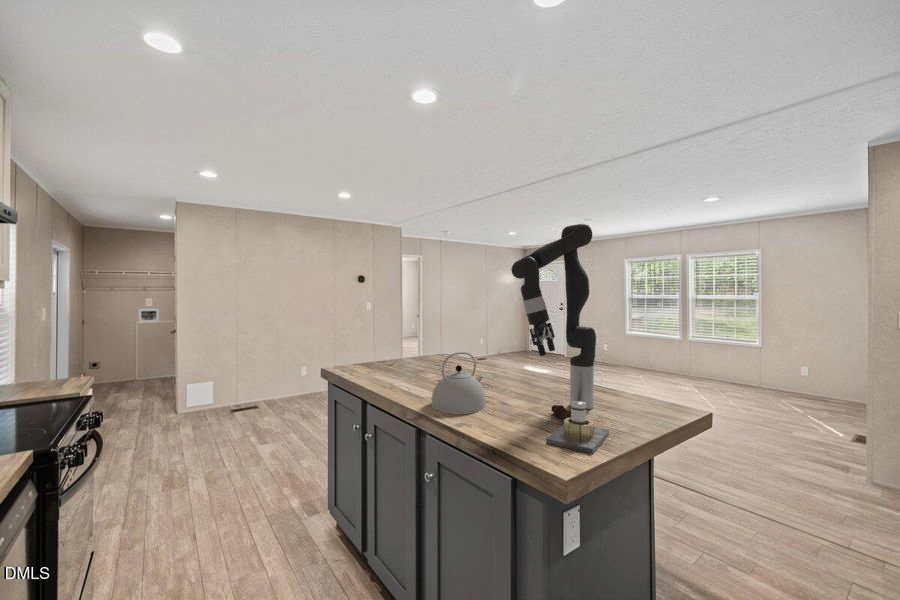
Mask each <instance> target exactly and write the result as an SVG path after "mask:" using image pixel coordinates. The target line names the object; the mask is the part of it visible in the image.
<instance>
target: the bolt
mask: <svg viewBox="0 0 900 600" xmlns="http://www.w3.org/2000/svg"><path fill="white" fill-rule="evenodd" d="M551 412H552V413H553V415H554V416H555V417H556V418H559V419H560V418H561V419H562V420H563V421H564V420H565V419H566V418H571V410H566V408H565V406H564V405H562V404H561V405H557V404H554V405H552V406H551Z"/></svg>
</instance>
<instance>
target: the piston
mask: <svg viewBox="0 0 900 600" xmlns="http://www.w3.org/2000/svg"><path fill="white" fill-rule="evenodd" d="M570 411H571V423H572V424H577V425H586V419H587V409H586V403H585V402H582V401H572V402H571V406H570Z"/></svg>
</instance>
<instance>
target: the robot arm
mask: <svg viewBox="0 0 900 600" xmlns="http://www.w3.org/2000/svg"><path fill="white" fill-rule="evenodd" d="M592 240H593V229H592V228H591V227H590V226H589V225H588V224H586V223H577V224H574V225H573V224H572V225H567V226H565V227H564V228H563V229H562V231H561V236H560V238H559V239H557V240H554V241H551V242H549V243H547V244H545V245H543V246H541V247H539V248H538V249H536V250H534V251H533V252H532V253H530V254H528V255H526V256H525V257H524V256H523V257H522V258H520V259H518V260H516V261H515V262H514V263H513V264H512V266H511V274H512V276H513V277H514V278H516V279H520V280H522V279H524V280H523V281H524V283H523V285H521V287H520V292H521V295H522V301H523V304H524V310H525V314H526V316H527V321H528V324H529V326H533V328H530V329H529V332H530V333H529V334H530V337H531V341H532V345H533V346H536V347H537V350H538V355H539V356H540V357H543V356H544V357H545V356H546V355H547V353H546V349H545V346H544V340H545V341H546V343H547V344H546V345H547V349H548V350H549V352H554V351H555V350H556V347H555V344H554V338H555V332H554V329H553V326H552V323H551V322H549V321H550V317H549V314H548V313H549V312H548V310H547V306H546V302H545V299H544V296H543V294H542V290H541V286H540V269H542V268H545V267H547V266H548V265H550V264H551V263H552V262H554V261H556V260H557V259H559V258H561V257H563V261H564V275H565V294H566V296H565V297H566V327H565V339H566V343H567V345H568V346H569V347H570V348H575V349H580V353H579V354H578V355H576V356H571V357H570V360H569V363H570V364H569V366H570V367H569V373H570V374H569V375H570V377H569V381H570V382H569V406H570V407H571V402H572V401H582V402H585V403H586V410H589V409H593V408H594V386H595V385H594V382H595V381H594V379H595V378H594V377H595V376H594V364H595V363H594V362H595V358H596V346H597V345H596V344H597V334H596V331H595V329H594V328H593V327H591V326H580V315H581V312H582V310H583V308H584V307H585V305H586V303H587V301H588V299H589V297H590V283H589V282H590V281H589V276H588V274H587V272H586V270H585V269H584V267H583V265H582V264H581V263H580V259H579V257H578V249H580V248H582V247H585V246H587V245H589V244H590V243H591V241H592Z"/></svg>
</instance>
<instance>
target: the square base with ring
mask: <svg viewBox="0 0 900 600" xmlns="http://www.w3.org/2000/svg"><path fill="white" fill-rule="evenodd" d="M609 434H610V429H608V428H603V427H597V426H595V423H594V422H593V420H590V419H588V418H586V425H577V424H572V423H571V418H566V419H565V420H563V424H562V425H561V426H560V427H558V428H557V429H556V430H555V431H554V432H552V433H551V434H550V435H549V436H548V437H546V438H545V444H547V445H551V446H555V447H560V448H565V449H569V450H573V451H577V452H581V453H585V452H586V453H587V454H590V453H591V454H590V455H593V454H594V453H595V452H596V451H597V450H598V448H599V447H600V446H601V444H602V443H603V442H604V441H605V440H606V439H607V437H608V436H609Z"/></svg>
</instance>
